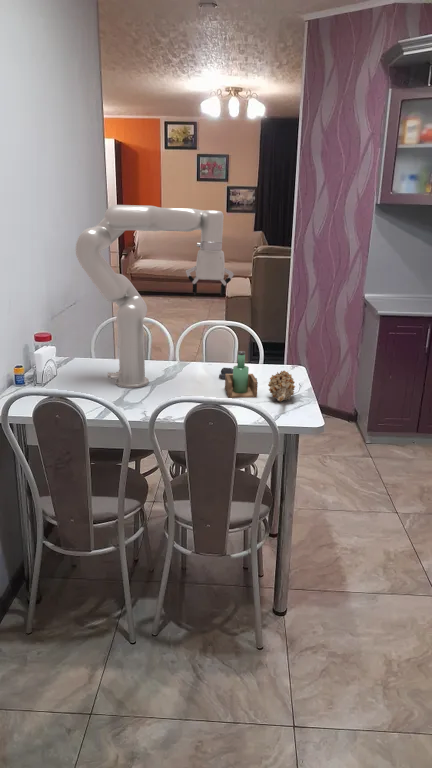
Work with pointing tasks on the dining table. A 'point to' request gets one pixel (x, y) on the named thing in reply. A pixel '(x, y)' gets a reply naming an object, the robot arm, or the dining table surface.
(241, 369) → the bottle
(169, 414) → the dining table surface
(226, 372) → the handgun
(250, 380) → the wooden square tray
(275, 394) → the pine cone
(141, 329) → the robot arm
